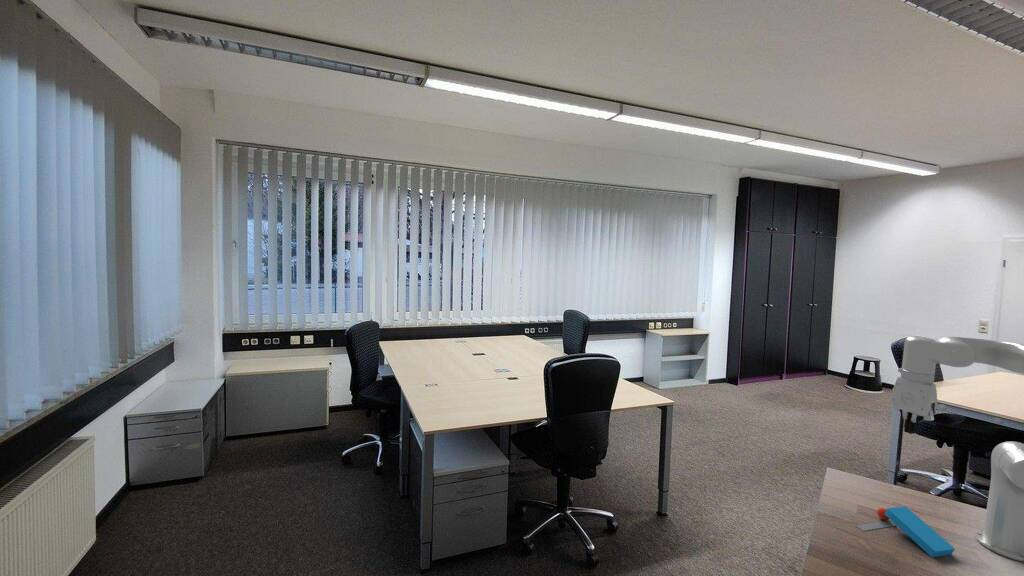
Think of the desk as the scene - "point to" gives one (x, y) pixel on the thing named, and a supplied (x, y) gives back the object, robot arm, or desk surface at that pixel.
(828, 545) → the desk surface
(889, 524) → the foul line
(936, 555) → the lever
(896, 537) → the desk surface
